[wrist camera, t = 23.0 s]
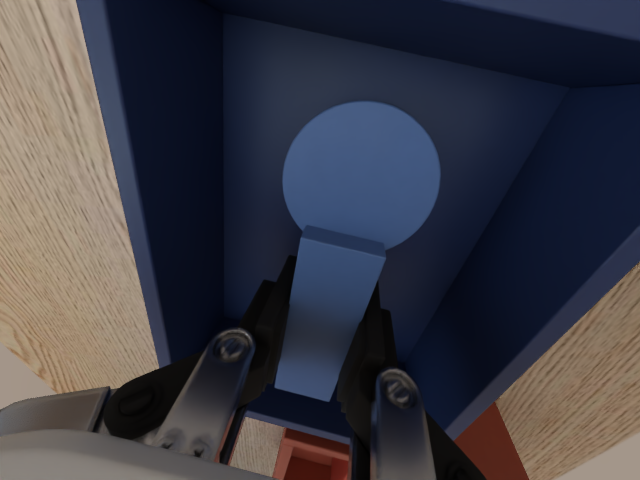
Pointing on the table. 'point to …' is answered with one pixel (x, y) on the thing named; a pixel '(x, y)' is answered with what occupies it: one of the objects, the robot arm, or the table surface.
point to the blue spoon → (348, 227)
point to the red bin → (475, 441)
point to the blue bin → (450, 142)
